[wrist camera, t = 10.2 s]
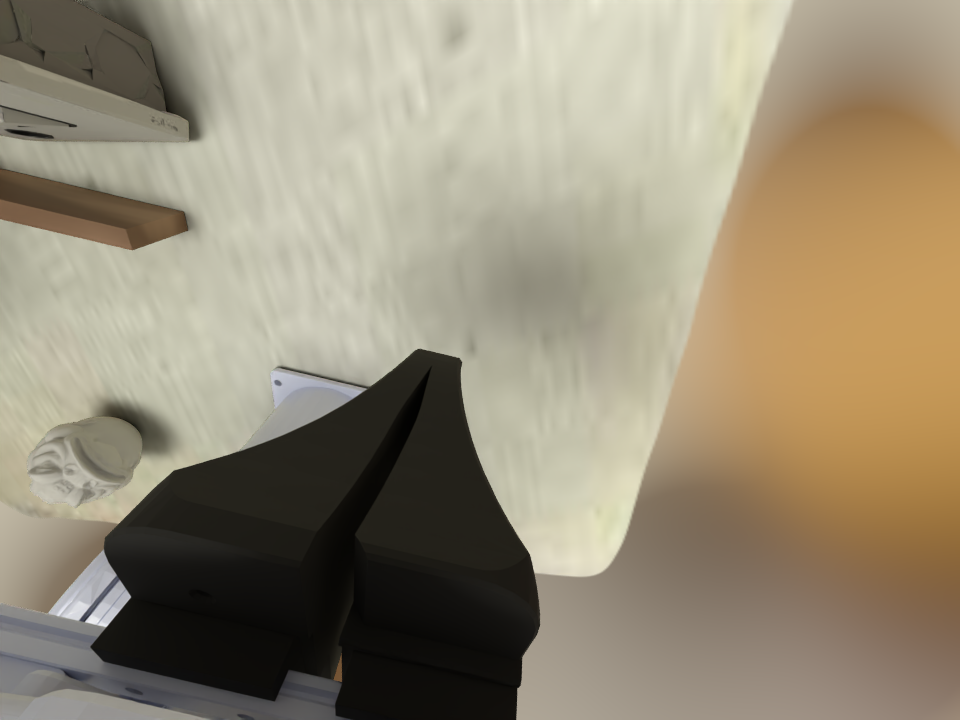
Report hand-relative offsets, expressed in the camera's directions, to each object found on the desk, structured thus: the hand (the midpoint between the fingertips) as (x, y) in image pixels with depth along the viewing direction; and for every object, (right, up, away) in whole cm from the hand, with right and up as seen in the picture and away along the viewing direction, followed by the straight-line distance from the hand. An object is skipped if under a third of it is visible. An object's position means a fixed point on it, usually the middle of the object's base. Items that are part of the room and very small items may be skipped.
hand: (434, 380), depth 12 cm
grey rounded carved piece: (-27, -5, +20) cm, 34 cm away
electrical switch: (-17, +14, +6) cm, 23 cm away
